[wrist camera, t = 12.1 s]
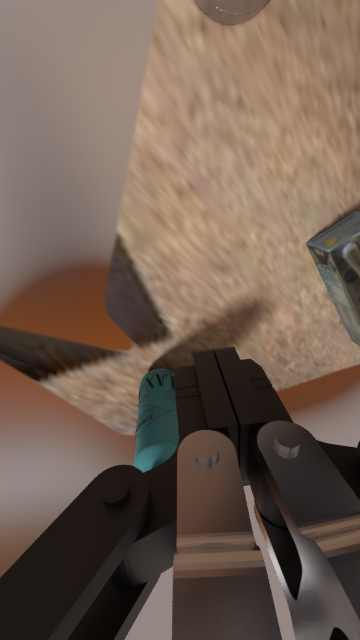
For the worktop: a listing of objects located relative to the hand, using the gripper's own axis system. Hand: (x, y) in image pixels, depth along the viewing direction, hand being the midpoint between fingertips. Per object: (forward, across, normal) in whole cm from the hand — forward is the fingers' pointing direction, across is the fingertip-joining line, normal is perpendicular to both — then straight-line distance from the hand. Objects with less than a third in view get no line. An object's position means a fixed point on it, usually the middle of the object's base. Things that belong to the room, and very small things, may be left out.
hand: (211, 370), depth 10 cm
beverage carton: (+30, -26, +9) cm, 40 cm away
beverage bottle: (+29, +4, +22) cm, 37 cm away
